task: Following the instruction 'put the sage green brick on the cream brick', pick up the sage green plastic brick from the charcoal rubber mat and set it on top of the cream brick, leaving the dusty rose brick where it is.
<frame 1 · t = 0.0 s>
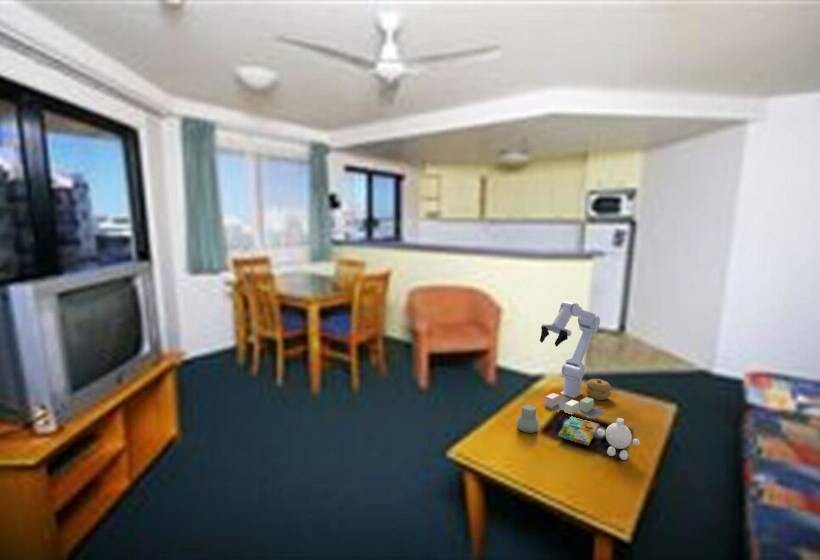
hand: (548, 343, 200), 32 cm above the table, tool tilted 50°, fingers open, 7 cm apart
rose brick: (551, 404, 208), resting on mat
cream brick: (571, 412, 201), resting on mat
sage brick: (586, 409, 205), resting on mat
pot: (597, 398, 220), on the table
air freshener: (527, 430, 183), on the table
puzzle game: (578, 437, 179), on the table
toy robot: (615, 454, 166), on the table
mat: (574, 409, 205), on the table
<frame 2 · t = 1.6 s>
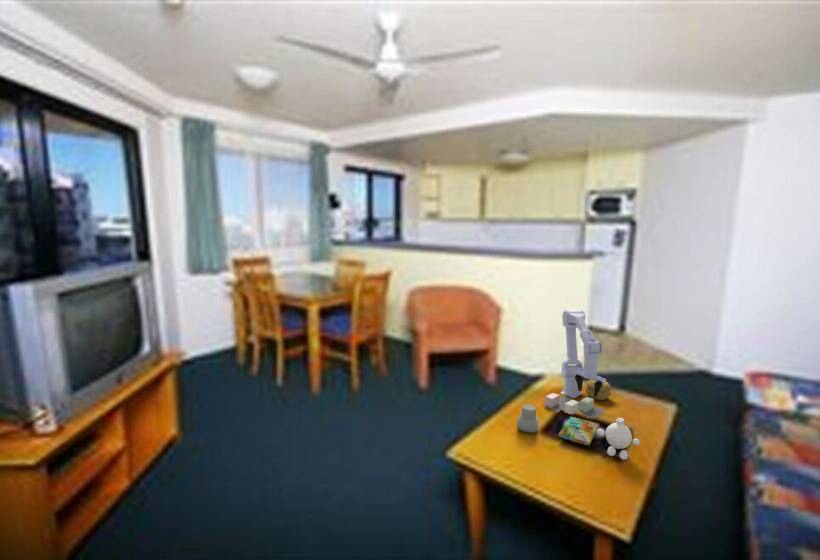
hand: (587, 393, 204), 8 cm above the table, tool pointing down, fingers open, 7 cm apart
nothing on the table moved.
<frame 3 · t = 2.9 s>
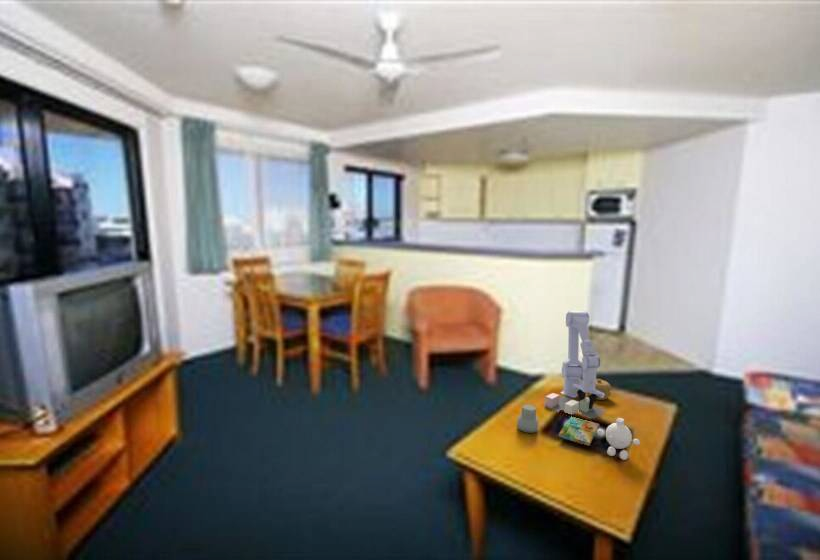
hand: (586, 407, 205), 1 cm above the table, tool pointing down, fingers closed on sage brick, 3 cm apart
sage brick: (586, 409, 205), resting on mat, touching gripper
everything else where it was.
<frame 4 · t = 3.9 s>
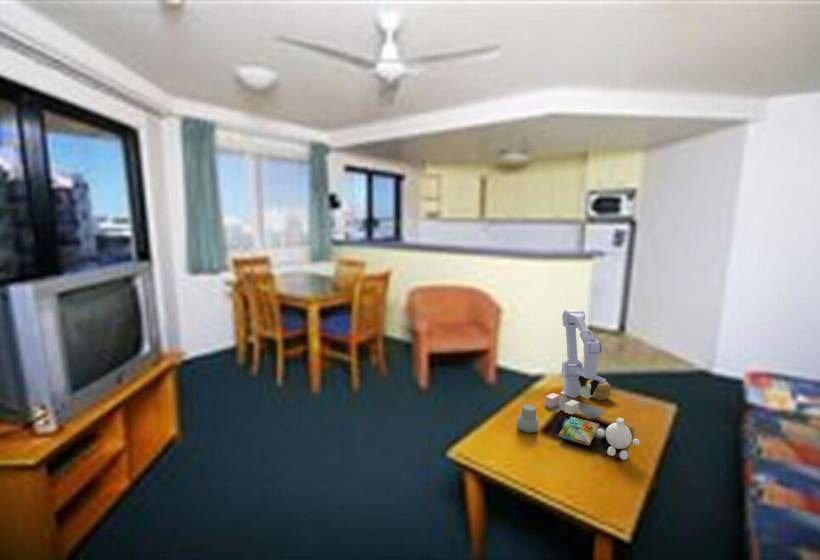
hand: (587, 393, 204), 8 cm above the table, tool pointing down, fingers closed on sage brick, 3 cm apart
sage brick: (587, 395, 204), point 7 cm above the table, touching gripper
everything else where it was.
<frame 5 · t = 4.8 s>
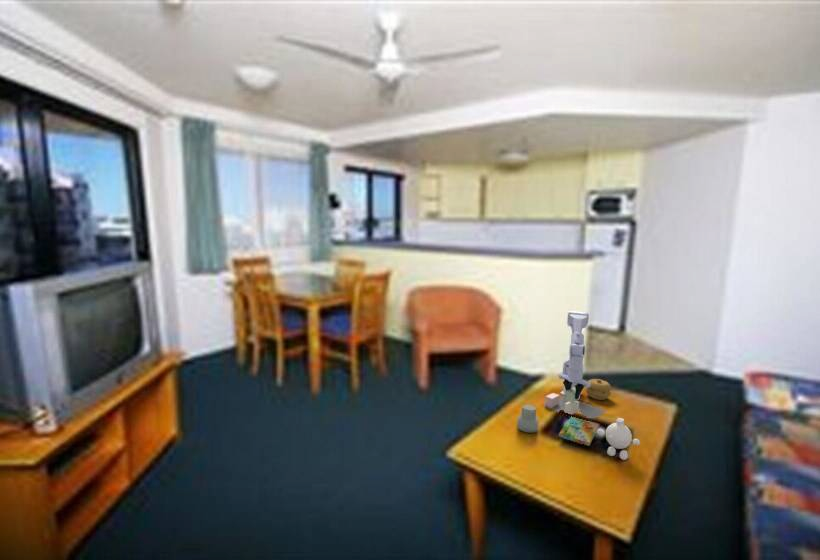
hand: (572, 397, 200), 8 cm above the table, tool pointing down, fingers closed on sage brick, 3 cm apart
sage brick: (572, 399, 200), point 7 cm above the table, touching gripper
everything else where it was.
when the fingers open (7 cm above the table, at t = 5.3 s): sage brick stays where it is, resting on cream brick.
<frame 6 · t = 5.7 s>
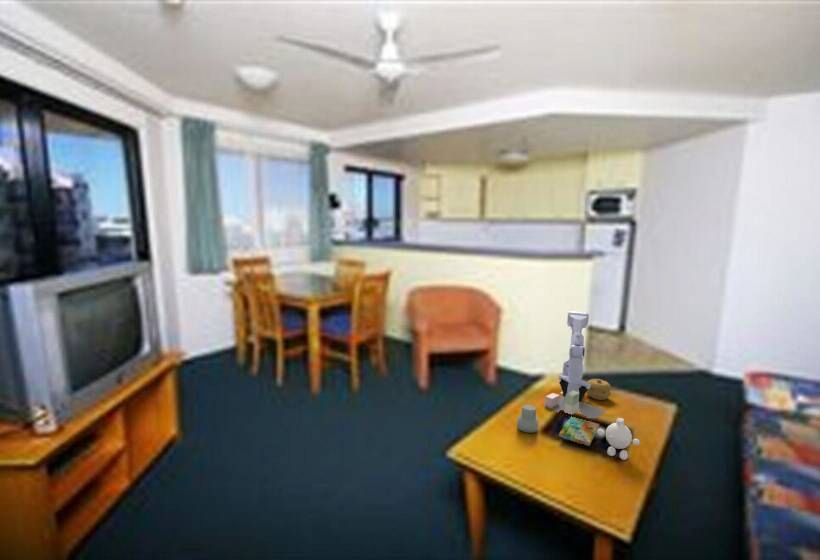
hand: (572, 398, 200), 7 cm above the table, tool pointing down, fingers open, 7 cm apart
cream brick: (571, 412, 201), resting on mat, touching sage brick
sage brick: (572, 402, 201), point 5 cm above the table, touching cream brick
everything else where it was.
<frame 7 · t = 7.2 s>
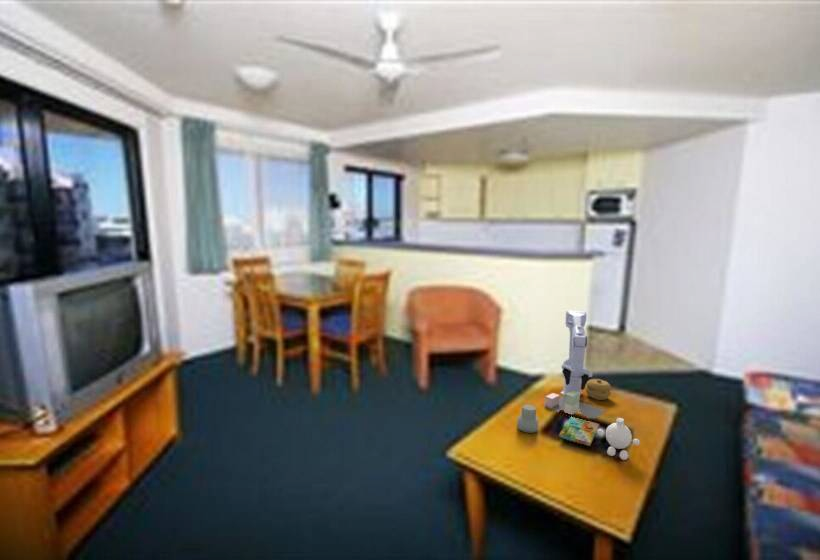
hand: (575, 386, 207), 10 cm above the table, tool pointing down, fingers open, 7 cm apart
nothing on the table moved.
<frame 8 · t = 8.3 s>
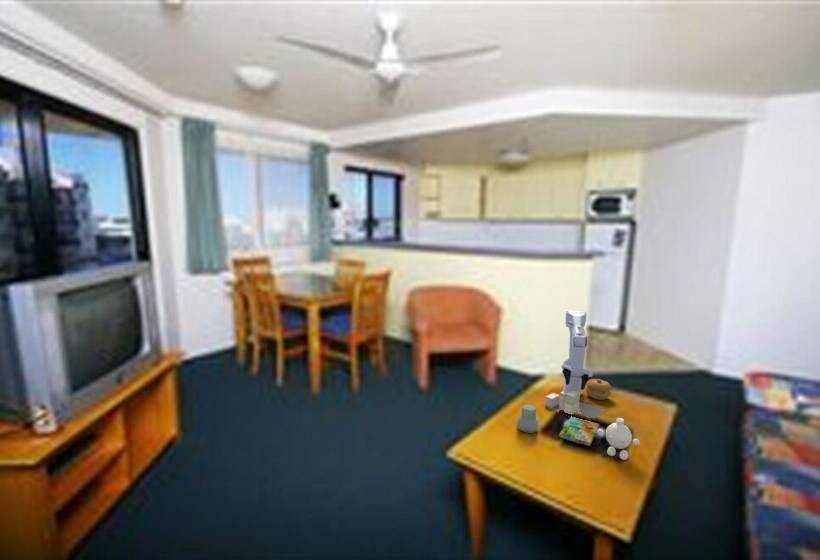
hand: (575, 386, 207), 10 cm above the table, tool pointing down, fingers open, 7 cm apart
nothing on the table moved.
at the end: sage brick 0.1 cm off-centre on the cream brick, point 4.6 cm above the cream brick's base; rose brick moved 0.0 cm from its start; cream brick moved 0.0 cm from its start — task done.
